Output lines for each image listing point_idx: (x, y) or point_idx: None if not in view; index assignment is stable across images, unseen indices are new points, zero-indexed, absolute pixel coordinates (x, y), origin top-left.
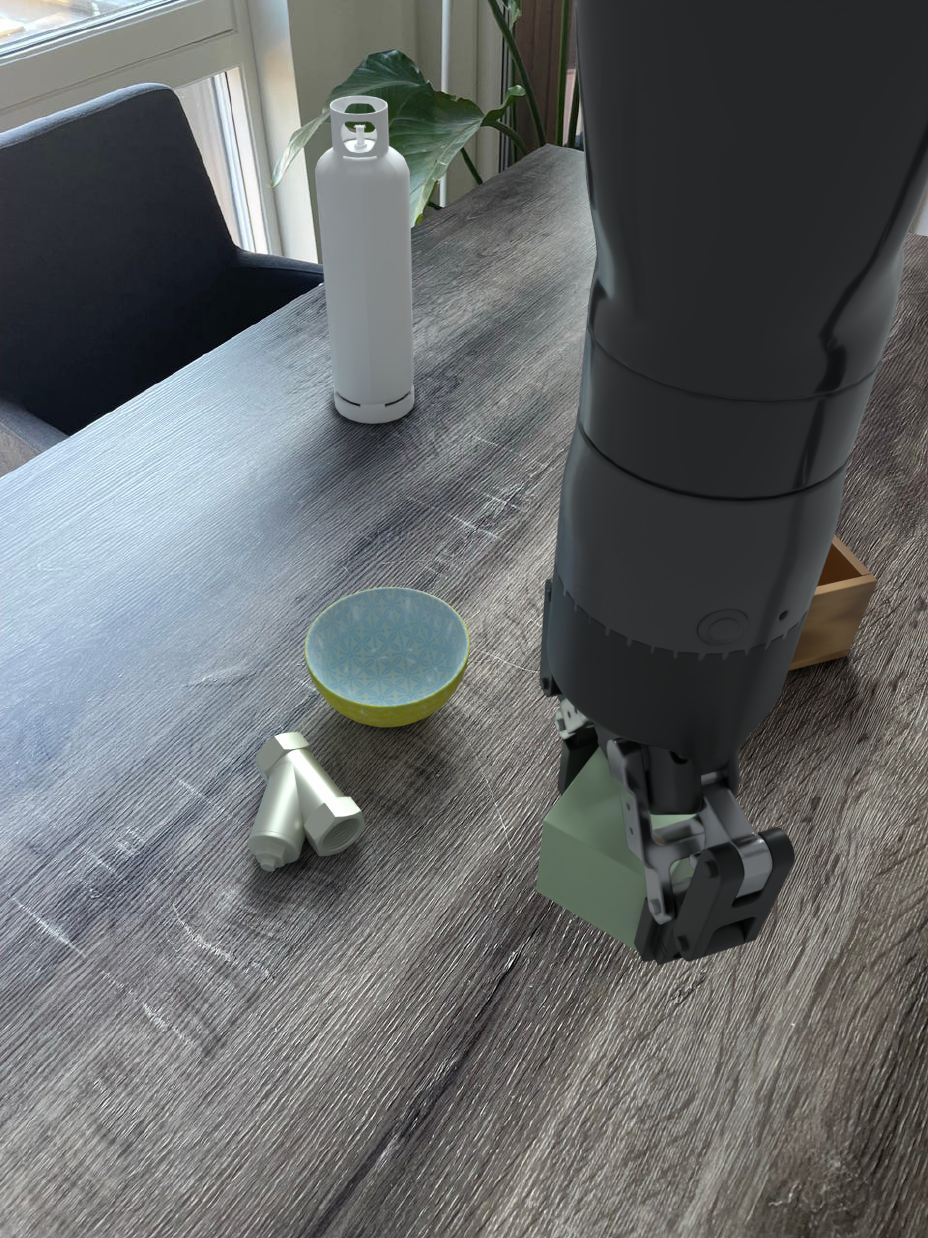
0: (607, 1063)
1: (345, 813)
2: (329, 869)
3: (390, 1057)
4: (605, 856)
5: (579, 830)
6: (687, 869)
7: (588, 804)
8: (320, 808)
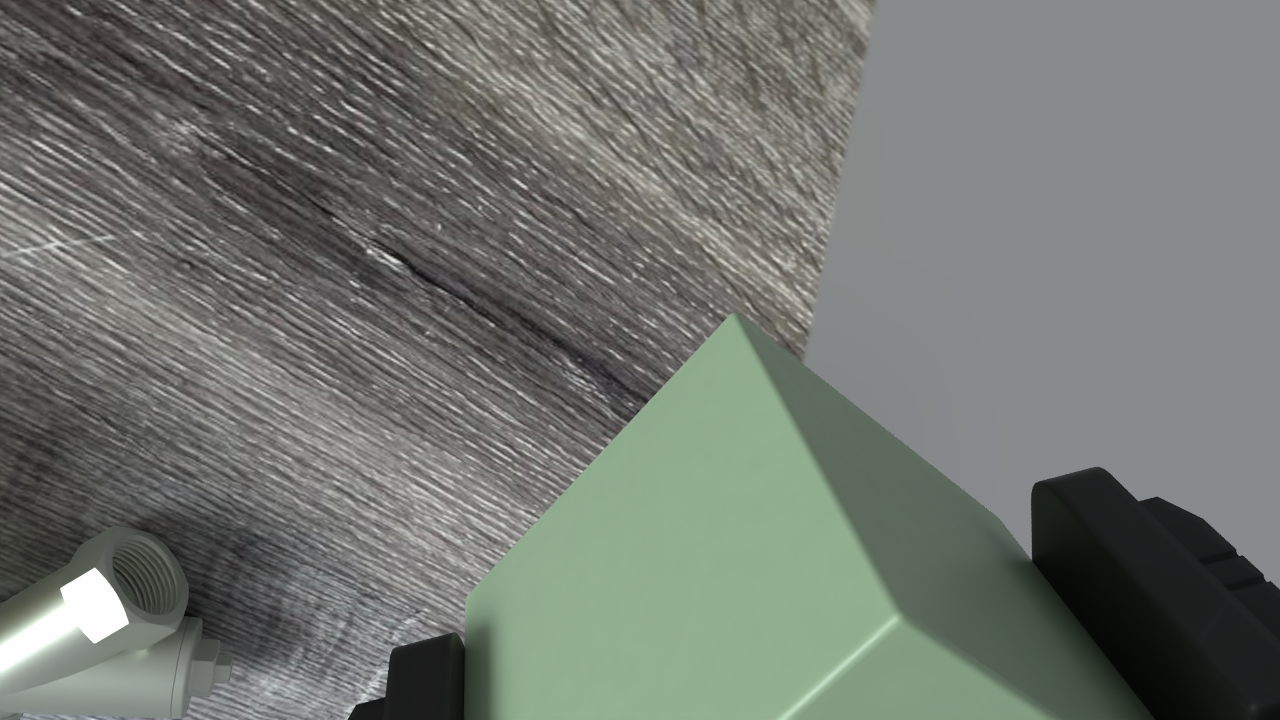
0: (594, 106)
1: (113, 602)
2: (205, 556)
3: (555, 452)
4: None
5: None
6: (944, 531)
7: None
8: (108, 644)
